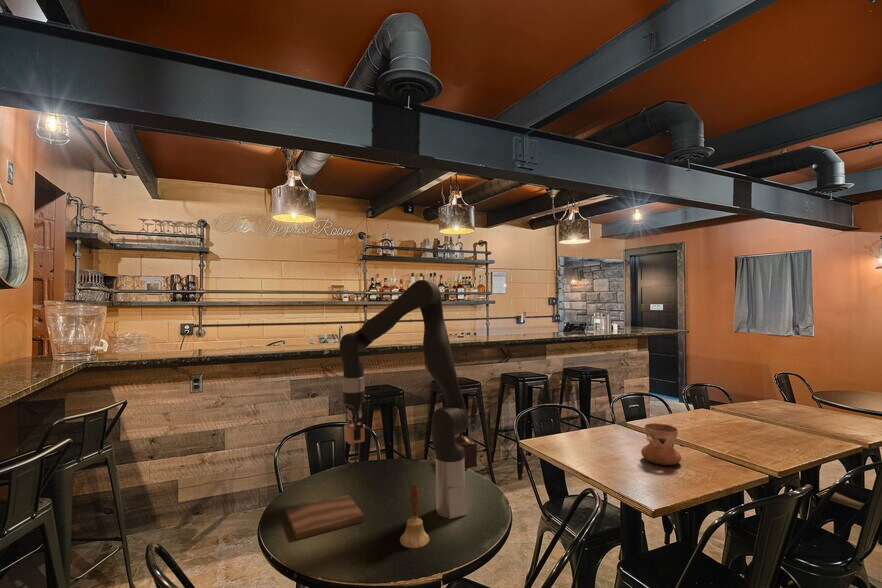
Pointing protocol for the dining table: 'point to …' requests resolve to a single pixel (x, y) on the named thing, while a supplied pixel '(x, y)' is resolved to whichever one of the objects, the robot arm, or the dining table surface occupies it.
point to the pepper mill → (468, 450)
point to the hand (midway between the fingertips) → (354, 437)
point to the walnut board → (324, 516)
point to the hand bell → (414, 525)
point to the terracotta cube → (350, 434)
